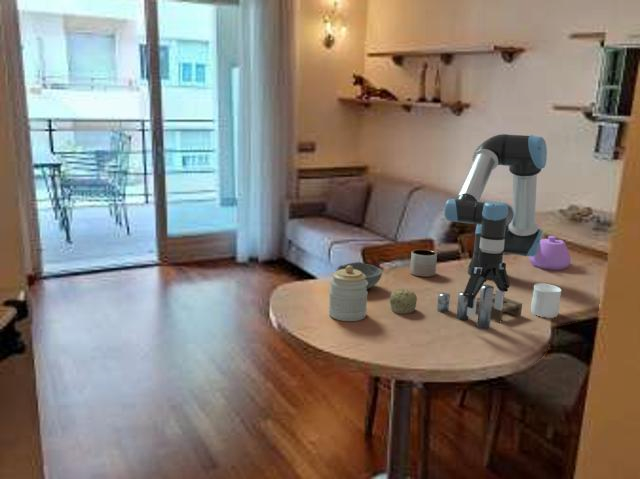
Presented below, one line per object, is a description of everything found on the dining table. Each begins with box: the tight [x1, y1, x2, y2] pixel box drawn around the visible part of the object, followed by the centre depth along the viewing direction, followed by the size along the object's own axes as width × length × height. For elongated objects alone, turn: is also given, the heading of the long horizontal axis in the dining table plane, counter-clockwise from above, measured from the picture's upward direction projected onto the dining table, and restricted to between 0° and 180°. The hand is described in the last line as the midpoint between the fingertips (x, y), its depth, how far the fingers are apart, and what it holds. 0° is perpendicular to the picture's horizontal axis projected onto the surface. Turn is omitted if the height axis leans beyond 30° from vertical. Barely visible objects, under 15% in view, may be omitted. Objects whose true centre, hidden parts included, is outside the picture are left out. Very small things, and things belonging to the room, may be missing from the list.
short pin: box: [436, 292, 451, 313], centre depth 209 cm, size 4×4×6 cm
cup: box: [530, 282, 562, 319], centre depth 208 cm, size 10×10×10 cm
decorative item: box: [389, 288, 418, 315], centre depth 208 cm, size 10×10×10 cm
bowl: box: [336, 261, 383, 290], centre depth 231 cm, size 18×18×8 cm
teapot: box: [528, 235, 571, 271], centre depth 270 cm, size 25×18×14 cm
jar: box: [328, 265, 368, 322], centre depth 200 cm, size 13×13×18 cm
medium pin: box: [456, 291, 470, 322], centre depth 201 cm, size 4×4×9 cm
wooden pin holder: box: [475, 293, 523, 323], centre depth 208 cm, size 12×12×4 cm
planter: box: [409, 248, 438, 278], centre depth 252 cm, size 11×11×10 cm
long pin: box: [476, 284, 495, 330], centre depth 194 cm, size 4×4×14 cm
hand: (484, 313), depth 194 cm, fingers open, 13 cm apart
